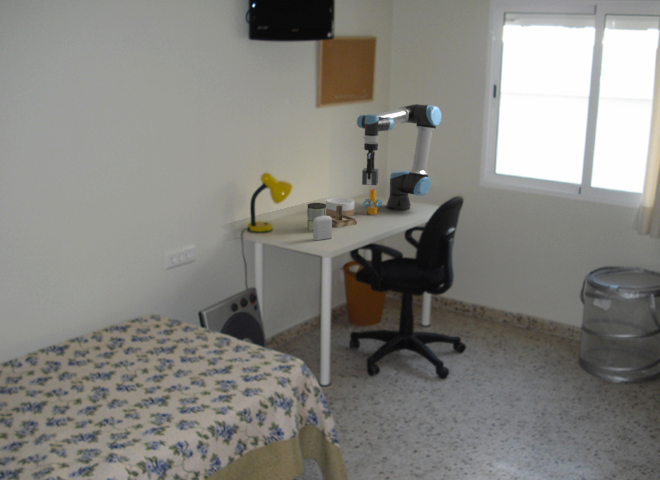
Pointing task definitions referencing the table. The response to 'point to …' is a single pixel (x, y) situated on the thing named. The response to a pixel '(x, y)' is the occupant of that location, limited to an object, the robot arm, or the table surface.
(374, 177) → the hollow dark grey cube
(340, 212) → the plate
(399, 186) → the robot arm
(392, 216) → the table surface
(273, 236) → the table surface
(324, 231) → the photo printer
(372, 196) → the orange tube with rings
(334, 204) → the bowl
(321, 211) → the coffee can
